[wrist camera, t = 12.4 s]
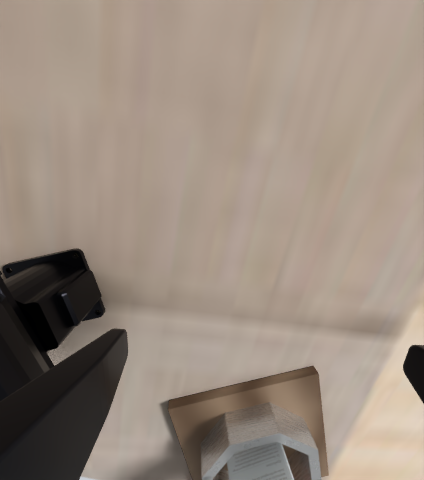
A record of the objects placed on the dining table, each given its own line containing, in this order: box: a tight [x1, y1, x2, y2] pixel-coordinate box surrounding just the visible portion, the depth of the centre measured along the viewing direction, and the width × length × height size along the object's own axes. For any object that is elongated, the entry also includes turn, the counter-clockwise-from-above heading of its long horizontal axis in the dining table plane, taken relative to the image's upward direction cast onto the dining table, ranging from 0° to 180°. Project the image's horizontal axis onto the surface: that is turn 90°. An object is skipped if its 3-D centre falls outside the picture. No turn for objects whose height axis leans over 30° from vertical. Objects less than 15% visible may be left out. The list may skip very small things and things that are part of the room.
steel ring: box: [201, 402, 321, 480], centre depth 23 cm, size 12×12×3 cm
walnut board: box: [168, 366, 329, 480], centre depth 25 cm, size 16×16×1 cm
